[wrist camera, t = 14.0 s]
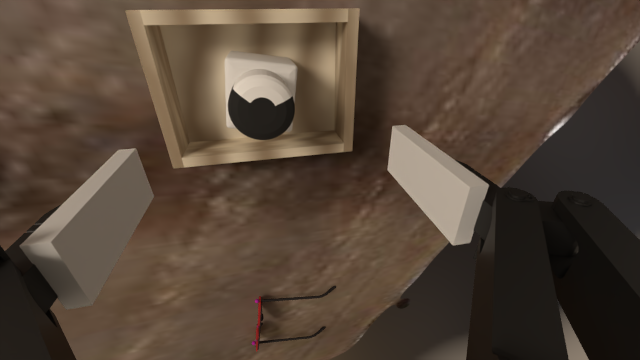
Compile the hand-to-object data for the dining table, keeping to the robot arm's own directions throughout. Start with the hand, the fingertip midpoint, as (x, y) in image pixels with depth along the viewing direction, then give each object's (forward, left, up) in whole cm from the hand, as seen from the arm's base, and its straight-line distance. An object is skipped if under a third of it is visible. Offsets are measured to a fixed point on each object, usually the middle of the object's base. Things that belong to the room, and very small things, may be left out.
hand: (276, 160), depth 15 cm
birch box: (+1, +1, -25) cm, 25 cm away
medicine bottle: (+1, +1, -24) cm, 24 cm away
